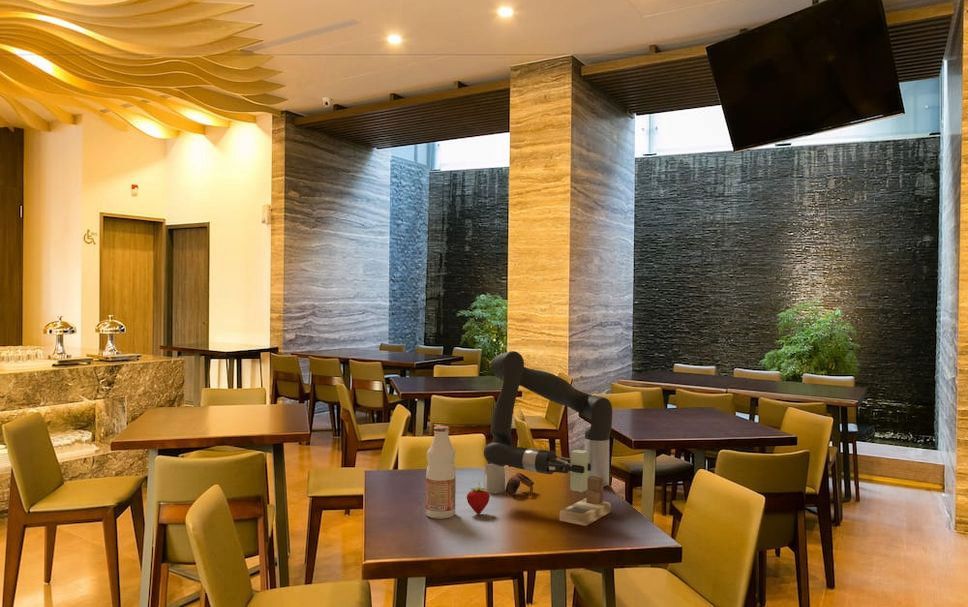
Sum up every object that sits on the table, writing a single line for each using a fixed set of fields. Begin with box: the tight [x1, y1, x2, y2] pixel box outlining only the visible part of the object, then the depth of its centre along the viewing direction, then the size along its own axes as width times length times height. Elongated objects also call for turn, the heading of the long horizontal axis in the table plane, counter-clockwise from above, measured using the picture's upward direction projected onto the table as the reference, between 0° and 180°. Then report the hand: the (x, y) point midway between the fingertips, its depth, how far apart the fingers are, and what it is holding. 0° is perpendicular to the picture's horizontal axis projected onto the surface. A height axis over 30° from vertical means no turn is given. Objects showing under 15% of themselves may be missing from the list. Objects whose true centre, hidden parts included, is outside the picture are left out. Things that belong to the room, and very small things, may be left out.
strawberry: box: [466, 481, 490, 515], centre depth 220 cm, size 6×8×10 cm
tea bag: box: [483, 463, 506, 494], centre depth 248 cm, size 4×7×10 cm, turn 105°
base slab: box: [559, 476, 612, 527], centre depth 219 cm, size 18×9×11 cm, turn 145°
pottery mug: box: [504, 472, 535, 496], centre depth 245 cm, size 12×10×8 cm
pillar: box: [569, 449, 588, 493], centre depth 215 cm, size 4×4×12 cm
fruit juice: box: [425, 425, 457, 520], centre depth 219 cm, size 9×9×28 cm
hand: (587, 468), depth 214 cm, fingers closed on pillar, 4 cm apart
